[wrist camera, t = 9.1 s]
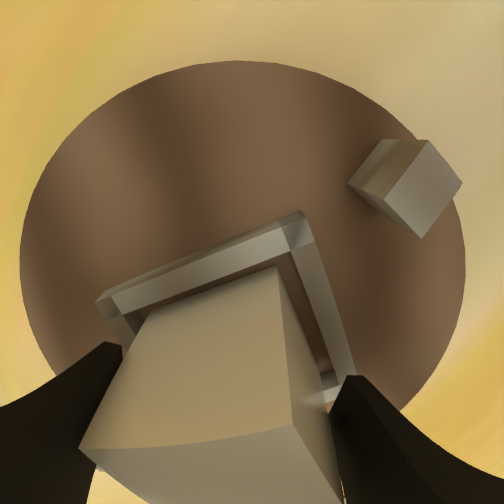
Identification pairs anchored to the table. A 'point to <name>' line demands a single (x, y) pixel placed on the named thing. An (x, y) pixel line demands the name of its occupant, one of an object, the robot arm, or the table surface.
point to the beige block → (219, 404)
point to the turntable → (250, 220)
